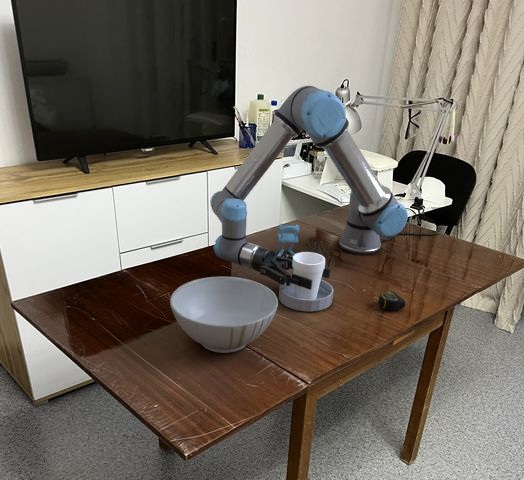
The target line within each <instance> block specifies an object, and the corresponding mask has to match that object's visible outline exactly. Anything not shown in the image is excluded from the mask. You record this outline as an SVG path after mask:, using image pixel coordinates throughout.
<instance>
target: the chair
mask: <svg viewBox="0 0 524 480" xmlns="http://www.w3.org/2000/svg"><path fill="white" fill-rule="evenodd" d="M278 229H279V232H278V233H277V234H278V235H277V237H278V243H279V245H280V249H281V250H280V251H279V253H278V254H277V255H276V256H281V257H282V256H283V255H284V254H285V253H284V252H285V248H284V245H283V244H284V243H291V244H290V246H289V248H288V254H289V255H292V256H294V255H295V254H296V253H295V252H294V251H293V250H292V249H293V247H294V246H295V244H298V243H299V238H298V234H299V231H300V224H296V223H295V224H294V225H291V224H290V225H289V224H288V225H284V224H283V223H279V225H278ZM289 232H292V233H289Z"/></svg>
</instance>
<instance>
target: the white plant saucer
mask: <svg viewBox="0 0 524 480" xmlns="http://www.w3.org/2000/svg"><path fill="white" fill-rule="evenodd" d="M334 292H335V291H334V287H333V286H332V285H331V283H329V282H328V281H325V280H323V279H321V281H320V285H319V289H318V293H317V297H316V299H314V300H307V299H299V298H295V293H294V284H292V283H290V286H287V285H286V283H285V285H281V284H279V288H278V301H280V303H281V304H282V305H283V306H285V307H287V308H289V309H291V310H295V311H300V312H319V311H322V310H323V311H324V310H326V309H328V308H329V307H331V305H332V304H333V299H334Z"/></svg>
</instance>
